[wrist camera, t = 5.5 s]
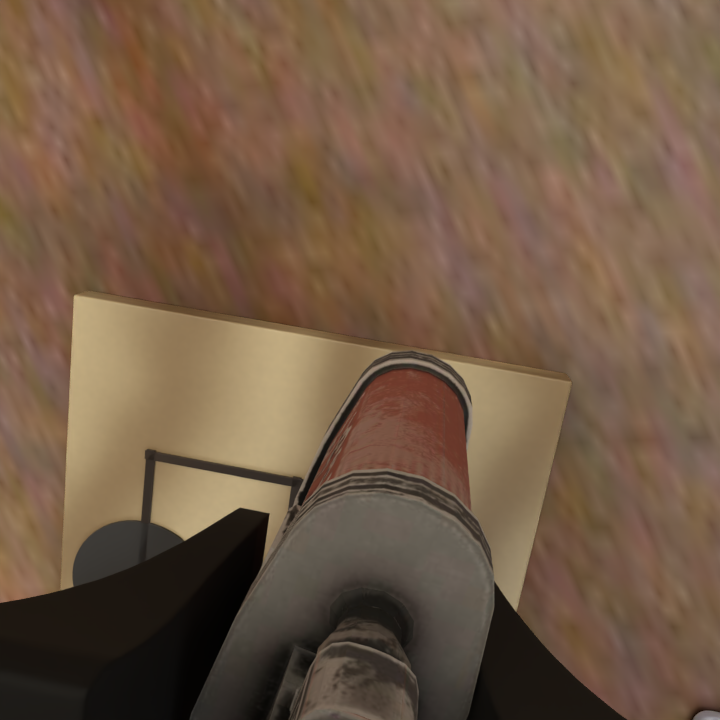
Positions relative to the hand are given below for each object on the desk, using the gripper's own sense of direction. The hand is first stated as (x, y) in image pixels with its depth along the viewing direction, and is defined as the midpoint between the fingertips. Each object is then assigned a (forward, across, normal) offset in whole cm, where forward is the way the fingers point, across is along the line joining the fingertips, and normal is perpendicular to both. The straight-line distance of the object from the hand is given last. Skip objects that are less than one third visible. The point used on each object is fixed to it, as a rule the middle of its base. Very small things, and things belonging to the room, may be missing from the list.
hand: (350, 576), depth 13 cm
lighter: (+3, 0, 0) cm, 3 cm away
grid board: (+10, +2, +8) cm, 13 cm away
